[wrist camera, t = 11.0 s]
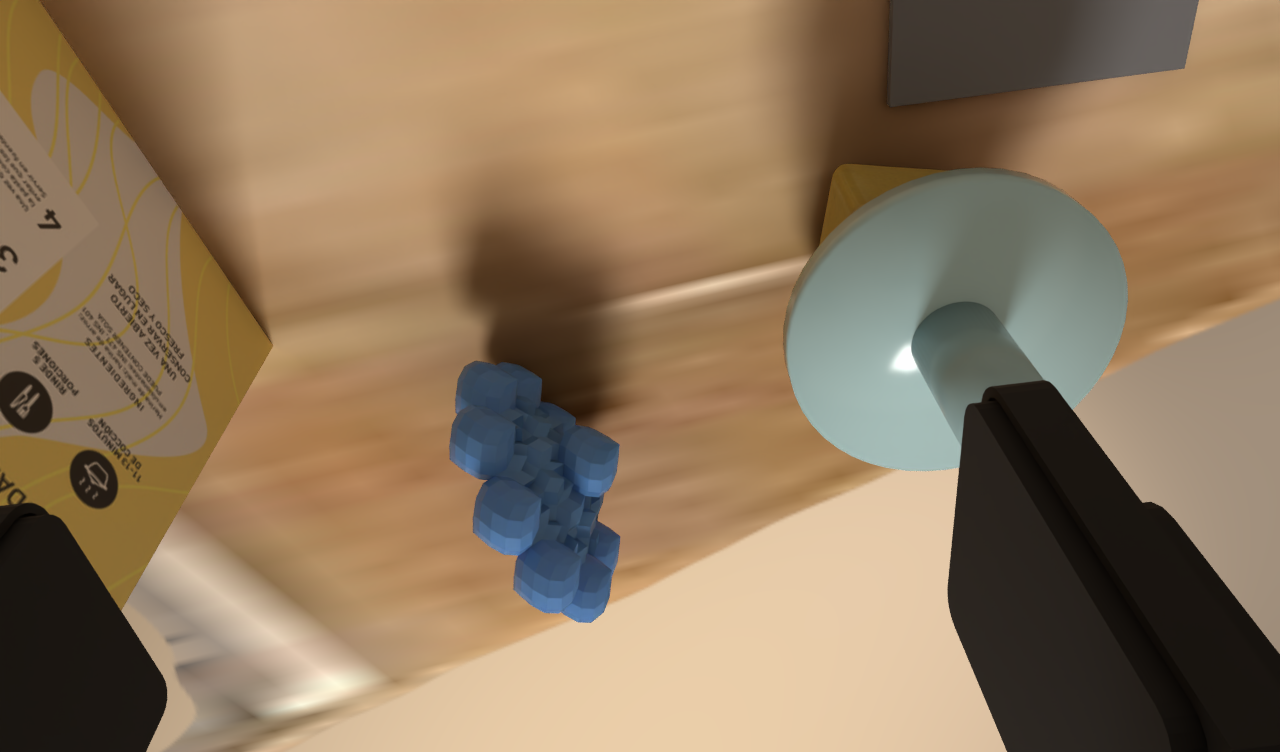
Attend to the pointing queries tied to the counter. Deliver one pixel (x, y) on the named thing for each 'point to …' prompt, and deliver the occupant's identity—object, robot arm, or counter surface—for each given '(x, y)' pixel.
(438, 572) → the counter surface
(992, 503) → the robot arm
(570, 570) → the grapes
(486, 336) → the counter surface
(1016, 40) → the mat
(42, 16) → the pasta box
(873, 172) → the flower pot
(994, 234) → the lid
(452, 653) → the counter surface
